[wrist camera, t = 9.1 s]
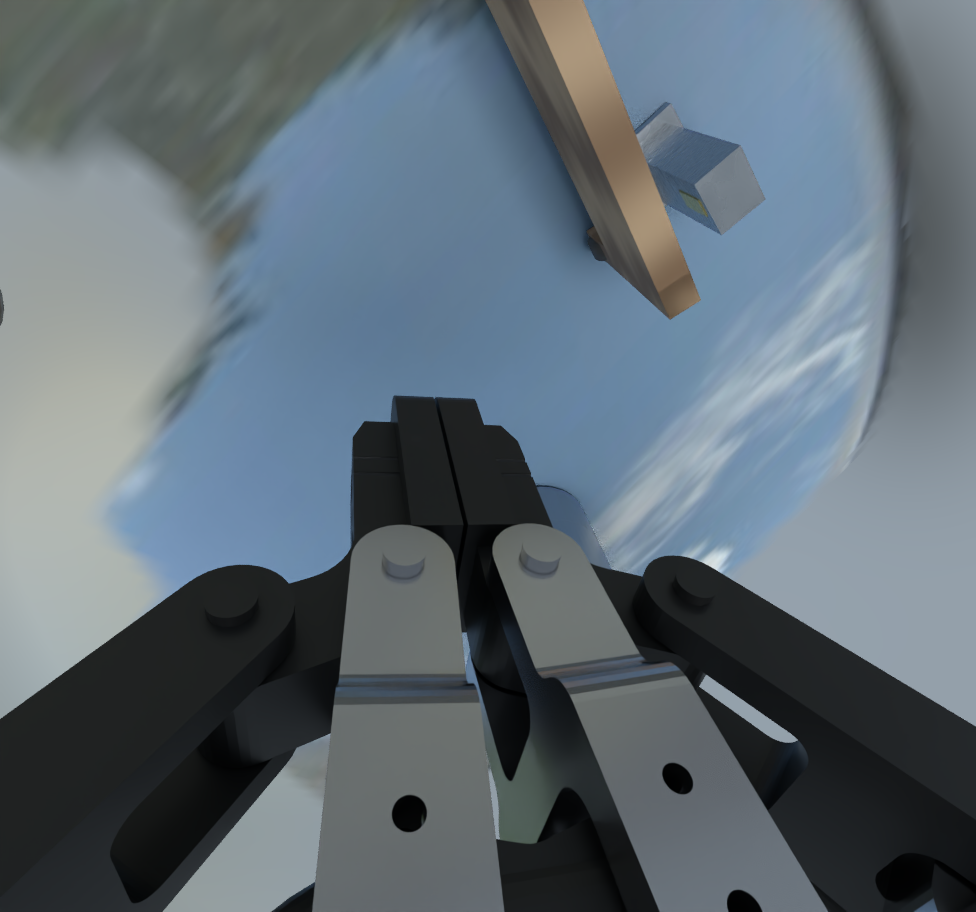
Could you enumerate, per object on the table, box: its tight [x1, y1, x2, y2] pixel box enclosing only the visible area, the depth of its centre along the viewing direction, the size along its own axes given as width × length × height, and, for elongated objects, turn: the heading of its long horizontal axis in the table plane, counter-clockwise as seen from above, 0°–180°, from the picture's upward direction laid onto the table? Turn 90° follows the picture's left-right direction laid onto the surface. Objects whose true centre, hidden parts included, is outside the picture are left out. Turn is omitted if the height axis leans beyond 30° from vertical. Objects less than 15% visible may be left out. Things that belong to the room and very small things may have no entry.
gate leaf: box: [485, 0, 701, 319], centre depth 27 cm, size 16×2×10 cm, turn 32°
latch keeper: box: [635, 102, 765, 235], centre depth 30 cm, size 4×4×8 cm
